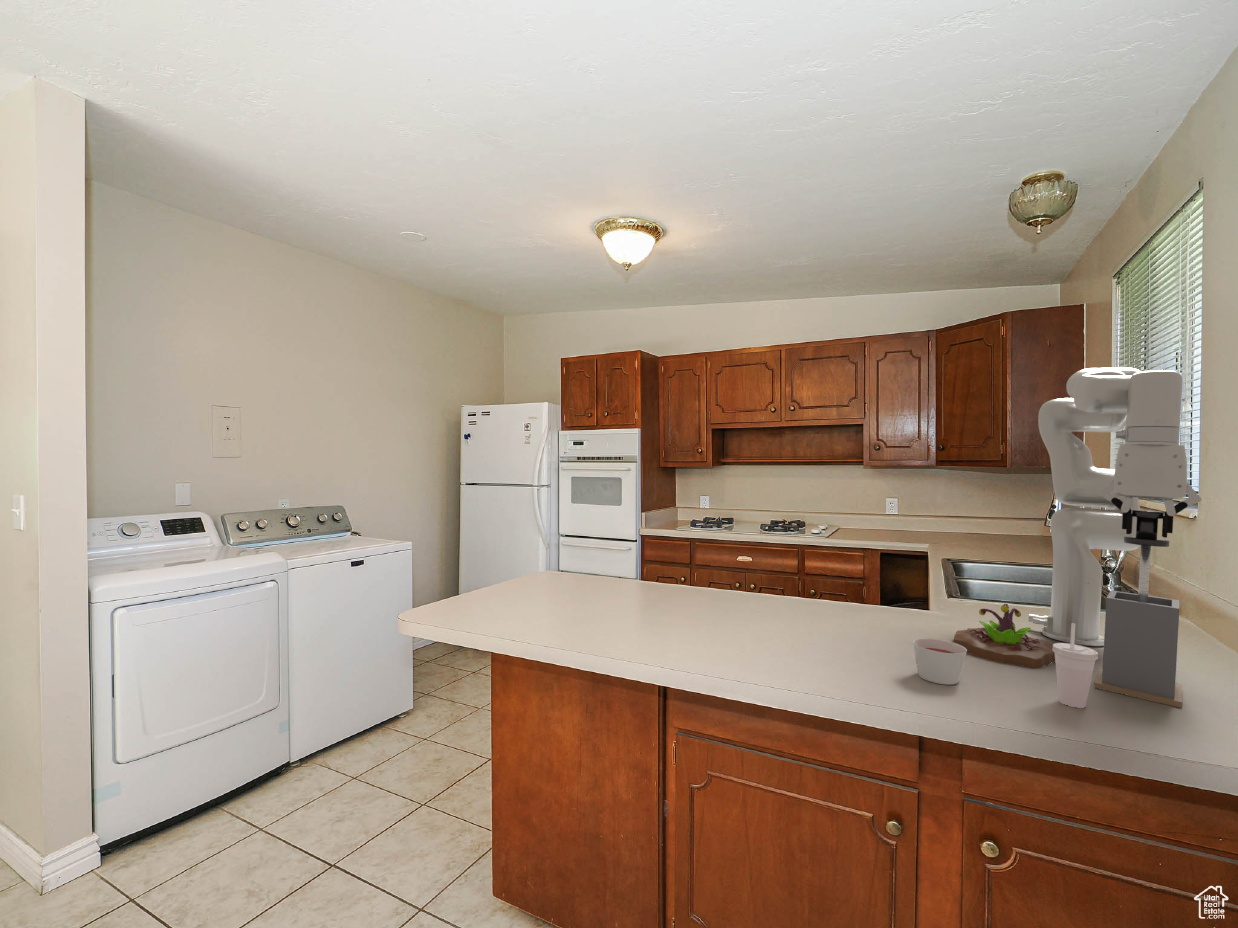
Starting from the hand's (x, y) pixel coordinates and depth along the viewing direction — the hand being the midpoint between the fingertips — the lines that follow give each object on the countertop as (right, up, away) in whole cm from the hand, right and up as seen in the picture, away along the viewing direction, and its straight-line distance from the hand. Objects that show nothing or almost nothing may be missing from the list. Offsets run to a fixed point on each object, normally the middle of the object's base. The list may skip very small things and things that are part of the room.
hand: (1146, 534), depth 113 cm
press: (-1, -29, +1) cm, 29 cm away
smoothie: (-20, -29, -8) cm, 36 cm away
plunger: (-1, -20, 0) cm, 20 cm away
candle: (-38, -28, +2) cm, 47 cm away
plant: (-13, -29, +21) cm, 38 cm away
